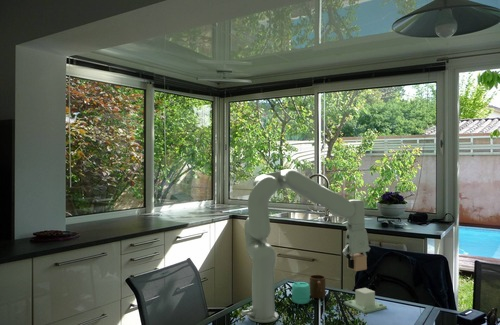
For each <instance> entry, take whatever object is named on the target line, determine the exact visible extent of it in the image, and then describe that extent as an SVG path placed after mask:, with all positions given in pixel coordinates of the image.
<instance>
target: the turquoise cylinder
mask: <svg viewBox="0 0 500 325" xmlns="http://www.w3.org/2000/svg"><path fill="white" fill-rule="evenodd" d="M291 286H292V287H291V288H292V289H291V290H292V291H291V294H292V296H291V300H292V302H293V303H294V304H298V305H305V304H306V305H307V304H308V303H310V299H311V296H310V283H308V282H305V281H296V282H293V283H292V285H291Z"/></svg>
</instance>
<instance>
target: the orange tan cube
mask: <svg viewBox="0 0 500 325" xmlns="http://www.w3.org/2000/svg"><path fill="white" fill-rule="evenodd" d="M350 256H351V254H350ZM367 258H368V255H367V256H365V255H362V254H360V253H357V254H354V256H353V260H354V269H351V268H349V267H348V259H347V258H346V268H347V269H348V270H352V271H355V272H359V271H360V272H361V271H366V270H367V269H368V266H367V265H368V264H367Z"/></svg>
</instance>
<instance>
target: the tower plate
mask: <svg viewBox="0 0 500 325" xmlns="http://www.w3.org/2000/svg"><path fill="white" fill-rule="evenodd" d="M354 291H355V293H354V295H355V297H354V298H355V299H352V300H346V301H344V302H343V304H344V305H345V306H348V307H351V308H352V309H353V310H357V311H358V312H361V313H363V314H368V313H373V312H375V311H380V310H385V309H387V305H386V304H383V303H380V302H378V301H376V291H375V290H372V289H369V288H367V287H362V288H357V289H355V290H354Z"/></svg>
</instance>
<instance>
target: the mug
mask: <svg viewBox="0 0 500 325" xmlns="http://www.w3.org/2000/svg"><path fill="white" fill-rule="evenodd" d="M309 286H310V298H313V299H323V298H326V277H325V276H324V275H321V274H312V275H310V276H309Z"/></svg>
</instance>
